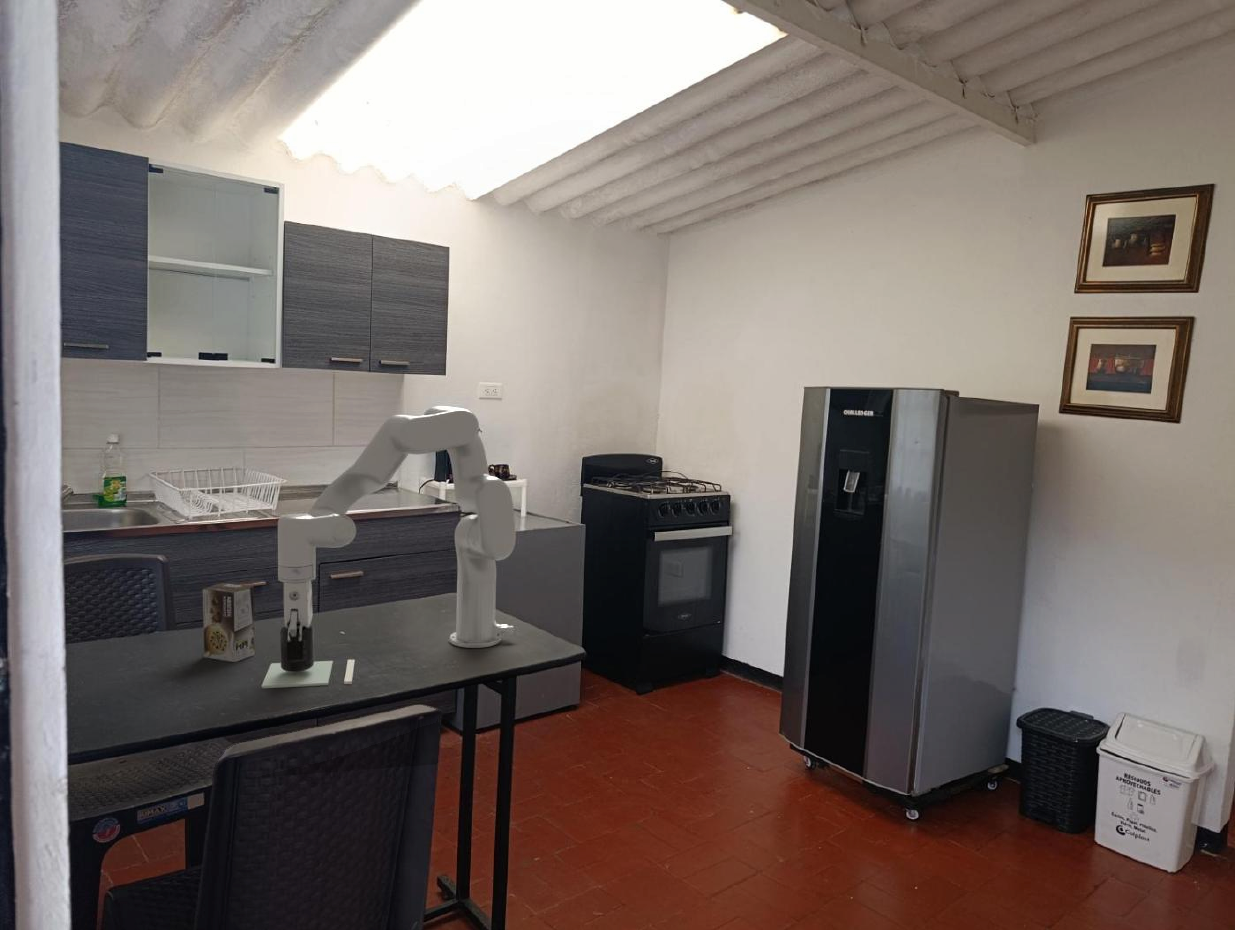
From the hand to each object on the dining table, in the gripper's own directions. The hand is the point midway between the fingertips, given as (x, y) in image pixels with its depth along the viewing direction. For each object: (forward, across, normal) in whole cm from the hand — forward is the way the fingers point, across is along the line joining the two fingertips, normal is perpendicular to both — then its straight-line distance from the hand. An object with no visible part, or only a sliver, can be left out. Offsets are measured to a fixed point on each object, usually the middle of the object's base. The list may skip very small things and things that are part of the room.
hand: (297, 652), depth 183 cm
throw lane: (+5, 0, -3) cm, 6 cm away
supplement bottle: (+3, 0, 0) cm, 3 cm away
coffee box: (+5, +15, +16) cm, 23 cm away
